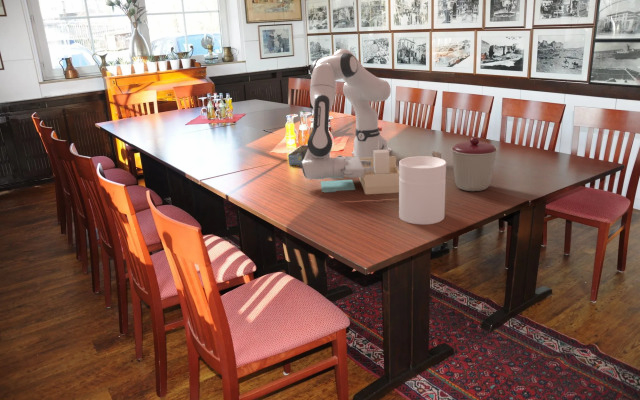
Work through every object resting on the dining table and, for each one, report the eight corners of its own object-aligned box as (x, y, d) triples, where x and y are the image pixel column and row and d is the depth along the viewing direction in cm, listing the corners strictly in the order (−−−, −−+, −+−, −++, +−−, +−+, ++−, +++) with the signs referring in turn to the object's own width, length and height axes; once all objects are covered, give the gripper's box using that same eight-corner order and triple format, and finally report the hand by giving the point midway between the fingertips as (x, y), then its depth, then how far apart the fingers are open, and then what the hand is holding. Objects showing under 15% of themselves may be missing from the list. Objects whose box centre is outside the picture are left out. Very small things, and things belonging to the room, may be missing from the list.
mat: (321, 192, 217) (321, 191, 216) (320, 182, 230) (320, 181, 230) (355, 190, 217) (355, 189, 217) (352, 180, 230) (352, 179, 230)
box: (375, 185, 221) (375, 153, 216) (373, 181, 226) (373, 150, 221) (389, 184, 221) (389, 152, 217) (387, 181, 226) (387, 149, 221)
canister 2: (461, 178, 226) (463, 130, 219) (502, 185, 215) (505, 135, 208) (441, 190, 213) (443, 139, 206) (484, 197, 202) (487, 144, 195)
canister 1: (438, 207, 194) (439, 155, 188) (449, 223, 179) (451, 166, 172) (395, 209, 194) (395, 157, 187) (403, 225, 179) (403, 169, 172)
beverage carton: (288, 166, 259) (287, 153, 257) (301, 156, 276) (301, 144, 274) (303, 167, 257) (302, 154, 254) (315, 157, 274) (315, 144, 271)
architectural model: (435, 170, 242) (436, 154, 239) (425, 167, 247) (425, 151, 245) (441, 168, 243) (441, 153, 241) (430, 165, 249) (431, 150, 247)
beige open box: (365, 195, 211) (365, 175, 208) (358, 176, 236) (357, 158, 233) (407, 193, 211) (407, 172, 208) (395, 174, 237) (396, 156, 234)
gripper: (341, 167, 210) (375, 165, 210) (338, 154, 229) (369, 152, 229) (342, 182, 212) (375, 180, 212) (338, 168, 231) (369, 166, 231)
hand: (372, 165), depth 221 cm, fingers open, 8 cm apart
